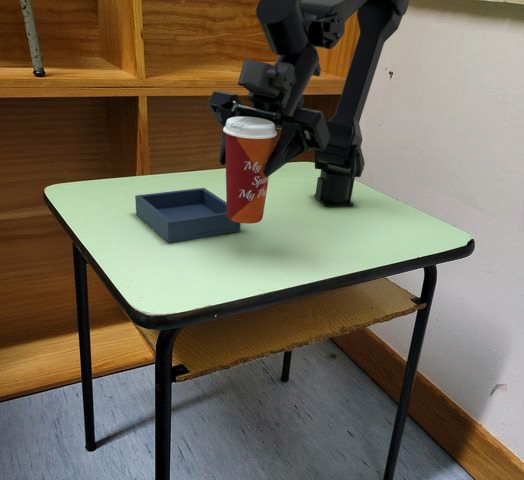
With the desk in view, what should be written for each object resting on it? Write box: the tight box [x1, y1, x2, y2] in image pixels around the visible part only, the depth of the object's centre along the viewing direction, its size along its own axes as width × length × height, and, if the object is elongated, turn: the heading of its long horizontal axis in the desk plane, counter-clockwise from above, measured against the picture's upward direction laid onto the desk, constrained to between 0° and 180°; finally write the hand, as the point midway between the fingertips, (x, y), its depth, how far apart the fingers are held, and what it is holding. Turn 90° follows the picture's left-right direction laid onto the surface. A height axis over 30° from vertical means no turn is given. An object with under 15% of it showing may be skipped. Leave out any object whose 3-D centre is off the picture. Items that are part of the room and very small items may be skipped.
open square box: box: [134, 187, 242, 244], centre depth 93 cm, size 14×14×4 cm
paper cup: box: [222, 117, 278, 225], centre depth 79 cm, size 8×8×14 cm
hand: (242, 169), depth 78 cm, fingers closed on paper cup, 7 cm apart
